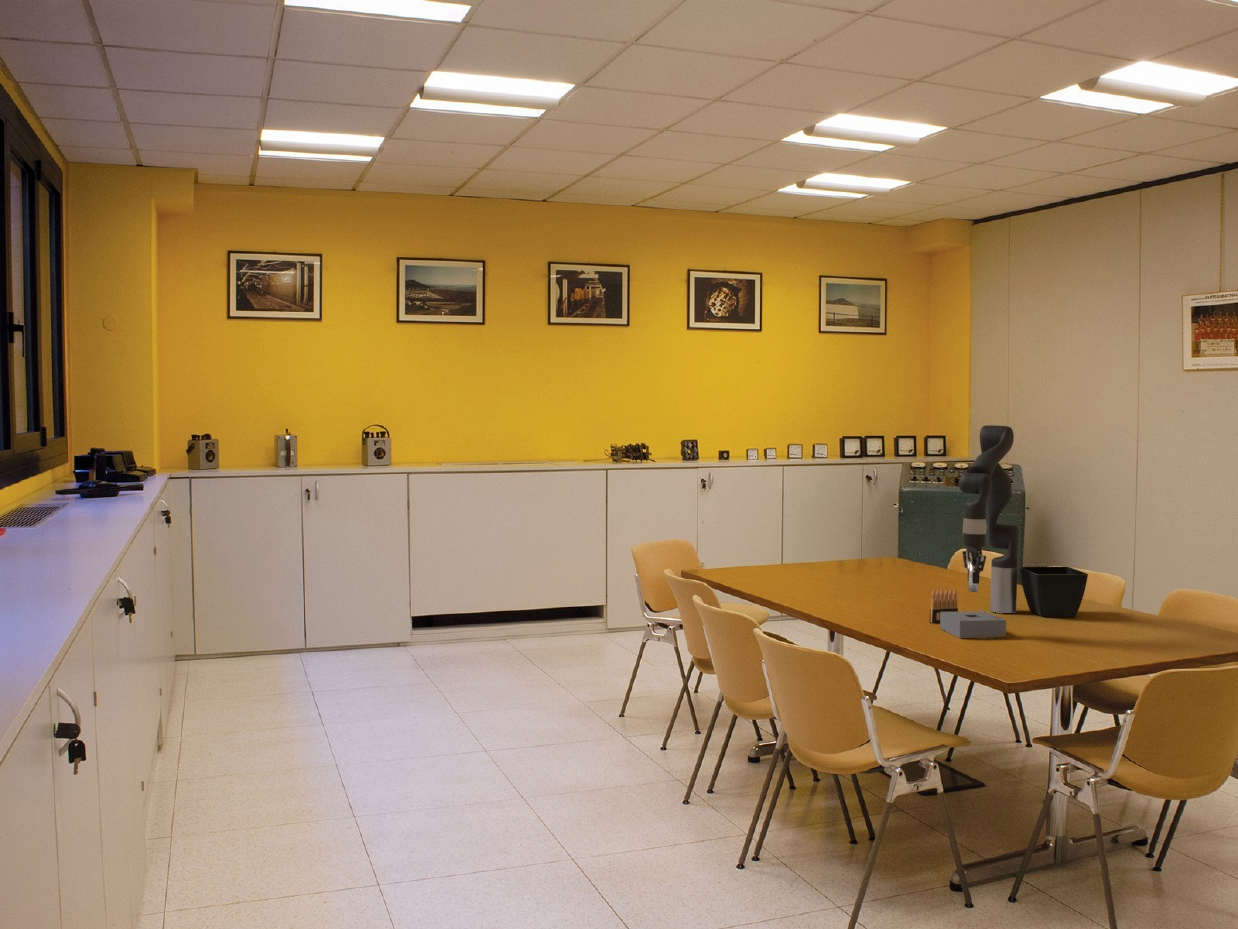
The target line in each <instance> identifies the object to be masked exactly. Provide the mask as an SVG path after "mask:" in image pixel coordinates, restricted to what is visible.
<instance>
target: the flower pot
mask: <svg viewBox="0 0 1238 929" xmlns="http://www.w3.org/2000/svg"><path fill="white" fill-rule="evenodd" d="M1018 568H1019V577H1020V581H1021V587H1022V589H1023V594H1024V597H1025V600H1026V603H1027V607H1028V609H1029V611H1030V612H1031V611H1032V612H1031V613H1033V614H1035V613H1036V614H1035V615H1037V616H1039V617H1041V616H1046V617H1045V618H1075V617H1076V616H1077V615H1078V612H1079V609H1080V607H1081V604H1082V603H1083V598H1084V596H1085V591H1086V586H1087V583H1088V576H1089V574H1088V573H1086V572H1084V571H1082V570H1079V569H1075V568H1073V567H1070V566H1019V567H1018Z"/></svg>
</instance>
